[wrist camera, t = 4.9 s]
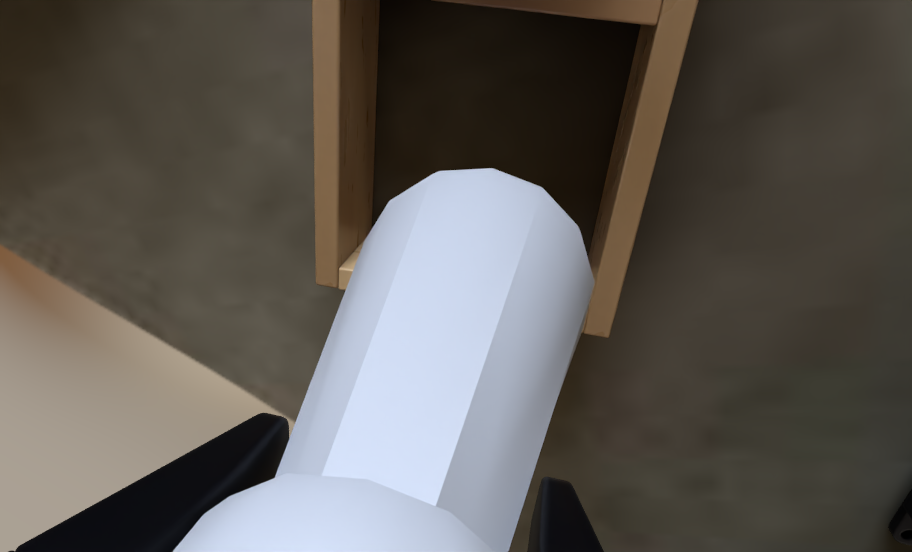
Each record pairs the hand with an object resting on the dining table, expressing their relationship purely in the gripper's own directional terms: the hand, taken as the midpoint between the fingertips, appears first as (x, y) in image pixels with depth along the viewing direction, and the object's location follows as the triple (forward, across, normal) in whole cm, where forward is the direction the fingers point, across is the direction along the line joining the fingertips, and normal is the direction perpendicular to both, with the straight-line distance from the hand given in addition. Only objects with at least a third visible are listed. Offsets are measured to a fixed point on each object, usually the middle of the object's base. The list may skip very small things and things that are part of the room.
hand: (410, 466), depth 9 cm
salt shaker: (+9, 0, 0) cm, 9 cm away
